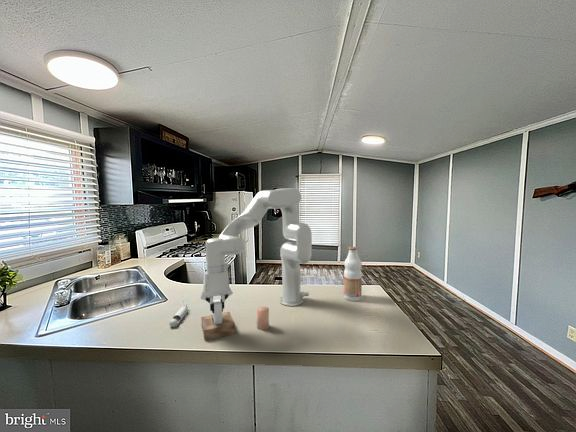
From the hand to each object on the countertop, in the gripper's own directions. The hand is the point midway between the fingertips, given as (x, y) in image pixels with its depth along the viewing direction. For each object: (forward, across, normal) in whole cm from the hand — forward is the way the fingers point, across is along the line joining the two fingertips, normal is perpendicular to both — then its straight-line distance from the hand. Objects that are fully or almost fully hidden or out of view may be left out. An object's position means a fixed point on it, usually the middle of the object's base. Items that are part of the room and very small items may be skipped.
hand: (217, 310), depth 107 cm
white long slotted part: (+9, +14, -18) cm, 24 cm away
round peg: (+8, -18, +6) cm, 21 cm away
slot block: (+8, 0, 0) cm, 8 cm away
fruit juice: (+8, -72, -3) cm, 73 cm away
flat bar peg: (+6, 0, 0) cm, 6 cm away
